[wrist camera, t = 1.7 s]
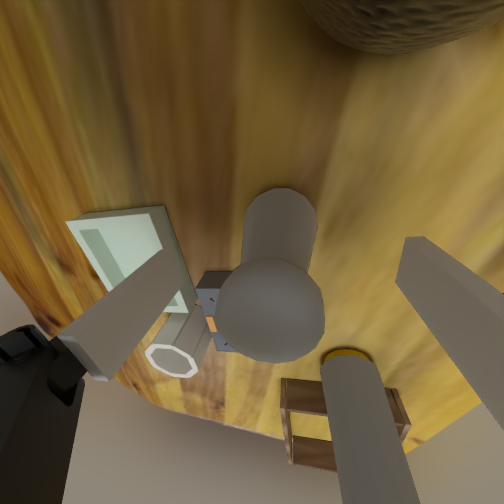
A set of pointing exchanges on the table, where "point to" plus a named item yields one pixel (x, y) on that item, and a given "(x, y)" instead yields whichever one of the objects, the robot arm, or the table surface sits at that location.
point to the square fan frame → (213, 304)
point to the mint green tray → (131, 246)
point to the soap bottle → (364, 433)
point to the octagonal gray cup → (180, 343)
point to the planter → (402, 22)
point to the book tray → (313, 402)
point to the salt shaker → (273, 282)
